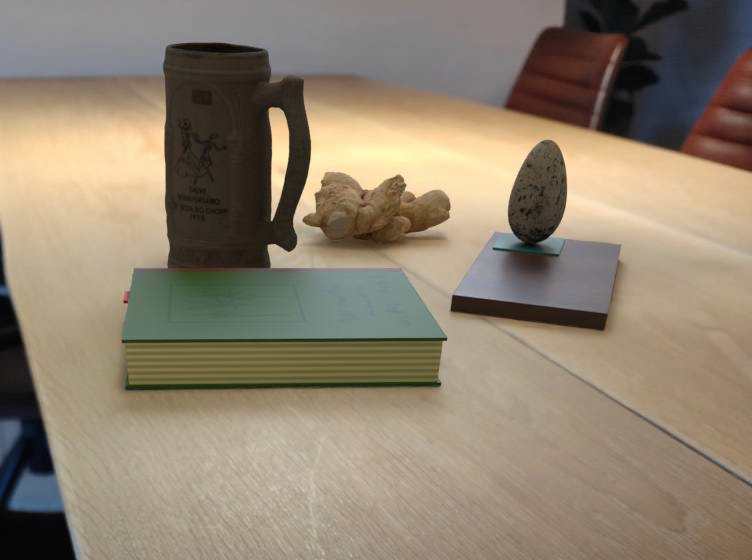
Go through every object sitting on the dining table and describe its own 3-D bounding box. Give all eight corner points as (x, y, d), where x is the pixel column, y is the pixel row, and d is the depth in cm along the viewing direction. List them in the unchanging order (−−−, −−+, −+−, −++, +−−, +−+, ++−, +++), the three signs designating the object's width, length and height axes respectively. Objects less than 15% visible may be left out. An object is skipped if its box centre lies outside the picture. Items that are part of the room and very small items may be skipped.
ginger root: (267, 225, 104) (281, 147, 101) (339, 236, 116) (354, 166, 113) (382, 255, 97) (401, 172, 93) (446, 262, 109) (465, 190, 106)
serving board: (492, 245, 105) (494, 229, 104) (618, 258, 101) (621, 242, 100) (449, 310, 85) (452, 292, 84) (604, 330, 82) (608, 311, 81)
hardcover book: (396, 309, 85) (401, 268, 83) (440, 385, 70) (447, 337, 68) (128, 310, 83) (125, 268, 81) (115, 389, 69) (111, 339, 66)
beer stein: (142, 275, 92) (141, 41, 80) (188, 249, 100) (194, 33, 88) (282, 305, 89) (304, 66, 76) (318, 277, 97) (344, 56, 84)
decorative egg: (563, 250, 97) (585, 145, 91) (508, 249, 97) (526, 144, 91) (550, 236, 102) (570, 135, 96) (497, 235, 102) (513, 134, 95)
